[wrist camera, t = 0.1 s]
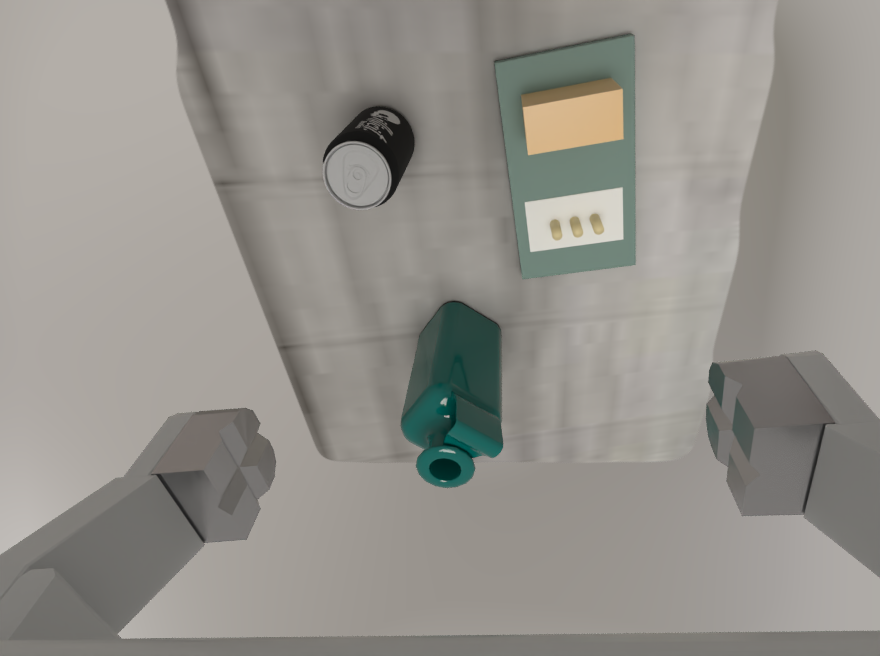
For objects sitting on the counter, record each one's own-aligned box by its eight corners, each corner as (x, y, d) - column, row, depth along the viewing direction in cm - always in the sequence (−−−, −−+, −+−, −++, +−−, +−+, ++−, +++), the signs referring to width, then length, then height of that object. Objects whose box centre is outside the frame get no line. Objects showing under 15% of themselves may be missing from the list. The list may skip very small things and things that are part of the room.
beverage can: (424, 121, 53) (407, 156, 43) (402, 181, 57) (381, 226, 47) (361, 93, 52) (328, 122, 42) (343, 156, 56) (308, 197, 46)
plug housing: (520, 94, 50) (522, 107, 45) (611, 77, 48) (622, 88, 44) (525, 139, 52) (528, 155, 47) (612, 123, 50) (623, 139, 46)
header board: (494, 61, 50) (494, 69, 46) (630, 33, 47) (642, 39, 44) (522, 273, 61) (523, 293, 57) (632, 258, 59) (641, 278, 55)
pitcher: (469, 373, 70) (458, 516, 51) (413, 341, 68) (381, 478, 50) (514, 321, 65) (520, 459, 47) (455, 285, 63) (437, 414, 45)
